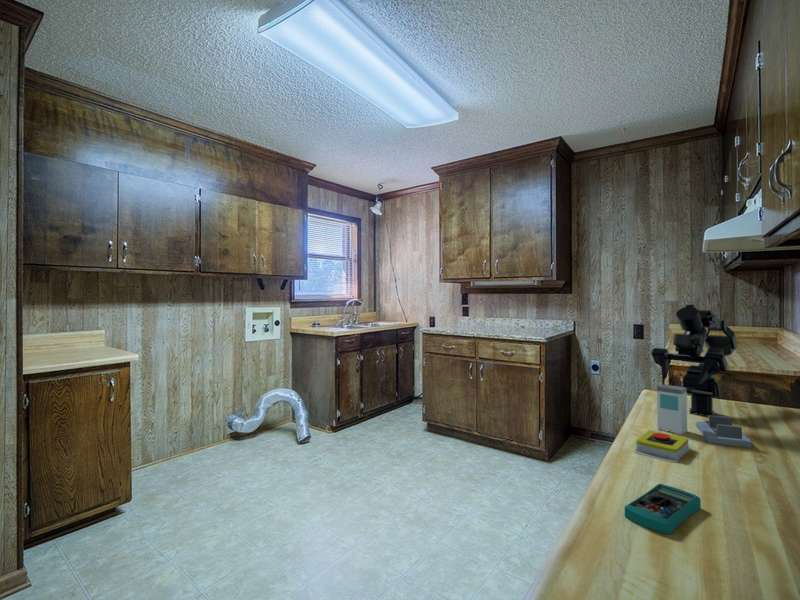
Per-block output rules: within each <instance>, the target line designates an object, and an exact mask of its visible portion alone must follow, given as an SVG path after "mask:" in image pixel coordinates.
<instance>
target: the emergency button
mask: <svg viewBox="0 0 800 600" xmlns="http://www.w3.org/2000/svg"><path fill="white" fill-rule="evenodd" d="M635 442H636V443H635V450H633V453H634V454H637V455H641V456H644V455H645V457H648V456H649V458H652V457H653V459H657V460H661V461H665V462H668V463H678V462H679V461H680V460H681V459H682V458H683V457H684V455H686V454H687V452H688V451H690V449H691V448H692V446H691V445H689V438H687V437H684V436H679V435H674V434H670V433H667V432H666V433H665V432H660V431H655V430H648V431H647V432H645V433H644V434H643V435H641V436H639V437H637V439H636V441H635ZM681 457H682V458H681ZM680 458H681V459H680Z"/></svg>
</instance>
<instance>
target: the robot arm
mask: <svg viewBox="0 0 800 600" xmlns="http://www.w3.org/2000/svg"><path fill="white" fill-rule="evenodd" d="M675 315H676V317H677V320H678V323H679V325H680V328H681V330H683V331H684V333H675V334H674V335H673V340H672V341H673V343H672V344H673V346H675V347H674V350H675V352H677V353H673V352H670V351H669V350H668V348H661V347H660V348H659V347H654V348H653V349H651V353H650V354H651V357H652V358H653V361H654V364H656V365H657V366H658V365H659V367H660V368H661V376H662V379H663V380H666V379H667V376H668V374H669V370H670V368H671V366H670V365H671V361H680V362H685V363H693V364H692V365H690V366H689V367H688V369H687V370H686V373H685V374H684V375H683V376H682V377H683V378H682V385H683V386H682V387H685V388H687V394H688V395H689V394H690V408H689V412H690V413H689V412H688V413H689V414H691V413H697V414H696V415H699V414H702V415H701V416H706V415H708V416H707V417H709V415H713V416H715V410H714V408H713V407H714V406H713V404H714V403H713V400H714V398H720V397H721V389H720V386H719V383H718V380H717V379H716V375H715V374H720V373H721V372H727V369H728V362H727V359H726V356H730V355H733V353H734V352H735V350H736V349H737V347H738V340H737V337H736V333H735V332H734V331H733V330H732V329H731V328H730V327H729V325H728V324H727V320H725V319H720V318H718V317H717V316H716V314H715V313H714V311H713V310H712V309H711V310H710V309H697V308H696V307H695V305H694V304H686V305H685V306H684V307H682V308H680V309H679V310H677V311H676V314H675ZM711 331H712V332H713V331H714V332H715V331H717V332H718V331H719V332H722V333H723V334H724V335H719V334H718V335H713V334H710V332H711ZM704 344H705V347H706V349H707V350H706V352H705V354H704V355H703V356H702V353H704ZM694 364H698V365H694Z"/></svg>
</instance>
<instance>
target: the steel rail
mask: <svg viewBox="0 0 800 600" xmlns="http://www.w3.org/2000/svg"><path fill="white" fill-rule="evenodd" d="M703 422H705V423H706V424H707V426H708V427H709V420H704V421H703ZM709 428H710V429H711V430H712V432H713V433H714V434H715V435H716V436H717V428H716V427H709ZM717 438H720V439H730V440H739V441H742V439H735V438H726V437H718V436H717Z"/></svg>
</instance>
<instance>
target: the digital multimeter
mask: <svg viewBox="0 0 800 600" xmlns="http://www.w3.org/2000/svg"><path fill="white" fill-rule="evenodd" d="M701 507H702V505H701V498H700V497H699V496H698V495H696V494H695V493H693V492H688V491H686V490H683V489H680V488H677V487H673V486H671V485H666V484H663V483H658V484H656V485H655V486H654V487H652V488H651V489H650V490H648V491H647V492H645V493H644V494H642V495H641V496H639V497H637V498H636V499H635V500H633V501H631V502H629V503H628V504H625V506H624V518H626V519H628V520H630V521H631V522H634V524H635V523H636V524H637V525H639V526H641V527H645V528H647V529H650V530H652V531H655V532H658V533H661V534H665V535H668V536H670V535H671V534H672V533H673V532H674V531H675V530H676V529H677V528H678V527H679V526H680V525H681V524H682V523H683V522H684V521H685V520H687V519H688V518H689V517H690V516H691V515H693V514H694V513H696V512H697V511H699V510H701Z"/></svg>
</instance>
